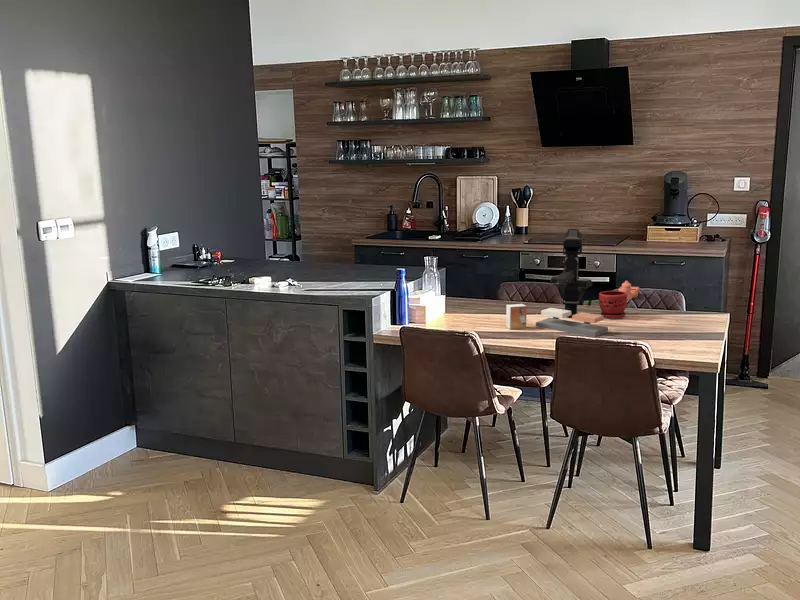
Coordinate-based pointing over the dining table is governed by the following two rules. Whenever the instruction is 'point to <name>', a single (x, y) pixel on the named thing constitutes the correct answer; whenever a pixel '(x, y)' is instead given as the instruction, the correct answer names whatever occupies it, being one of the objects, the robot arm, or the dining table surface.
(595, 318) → the terracotta key
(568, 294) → the robot arm
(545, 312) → the cream rectangular block
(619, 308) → the plant pot
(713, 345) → the dining table surface
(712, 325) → the dining table surface
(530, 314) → the dining table surface
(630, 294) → the pottery
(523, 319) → the small box
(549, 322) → the key panel
